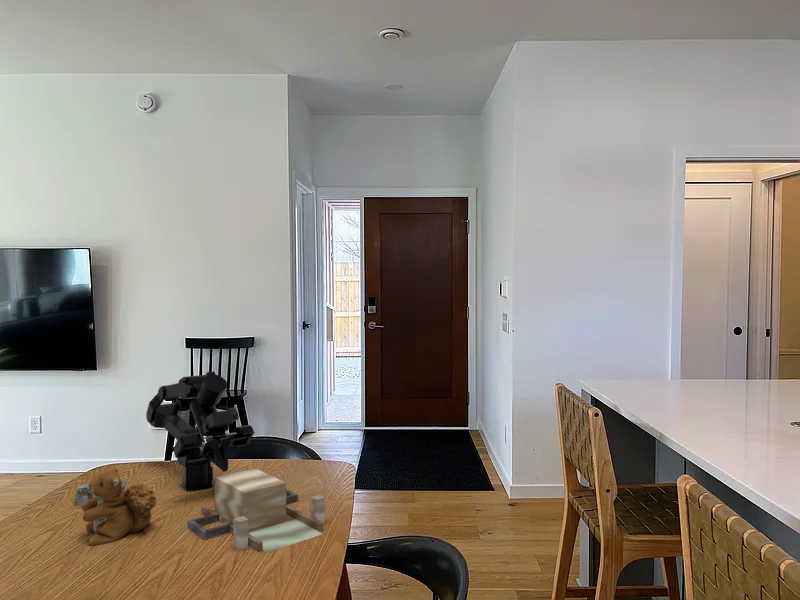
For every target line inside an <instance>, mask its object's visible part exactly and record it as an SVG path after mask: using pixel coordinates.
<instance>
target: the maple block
mask: <svg viewBox="0 0 800 600" xmlns="http://www.w3.org/2000/svg"><path fill="white" fill-rule="evenodd" d="M286 489H287V482H286V481H284V480H281V479H279V478H277V477H276V476H273V475H271V474H269V473H266V472H265V471H262V470H260V469H258V468H255V467H254V468H250V469H245V470H241V471H237V472H236V471H235V472H232V473H228V474H222V475H219V476H218V475H217V476H214V510H215V512H216V513H218V514H219V515H220V516H221V517H223V518H224V519H226V520H227V521H229V522H230V523H233V524H234V519H235V518H239V517H242V516H244V517H246V518H247V519H248V530H250V529H253V528H257V527H260V526H264V525H267V524H270V523H274V522H277V521H280V520H284V519H286Z"/></svg>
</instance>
